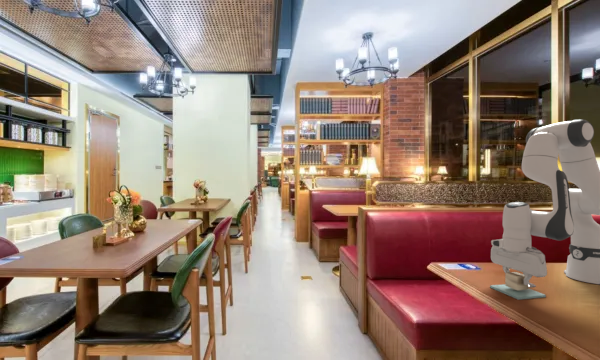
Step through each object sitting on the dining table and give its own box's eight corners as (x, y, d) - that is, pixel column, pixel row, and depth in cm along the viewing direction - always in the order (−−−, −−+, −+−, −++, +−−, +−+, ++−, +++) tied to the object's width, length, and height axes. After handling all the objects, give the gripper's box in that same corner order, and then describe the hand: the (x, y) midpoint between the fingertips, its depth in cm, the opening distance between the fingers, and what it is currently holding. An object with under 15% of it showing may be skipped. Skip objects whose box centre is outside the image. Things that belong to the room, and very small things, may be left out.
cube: (516, 284, 113) (516, 271, 113) (528, 289, 108) (528, 276, 108) (505, 285, 112) (505, 272, 112) (517, 290, 107) (517, 276, 107)
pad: (515, 285, 117) (515, 283, 117) (545, 297, 105) (545, 294, 105) (490, 287, 115) (490, 285, 115) (518, 299, 103) (518, 297, 103)
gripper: (551, 251, 100) (552, 290, 100) (500, 239, 121) (500, 272, 120) (536, 252, 99) (537, 292, 99) (487, 240, 119) (487, 273, 119)
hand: (516, 281), depth 110 cm, fingers open, 5 cm apart
